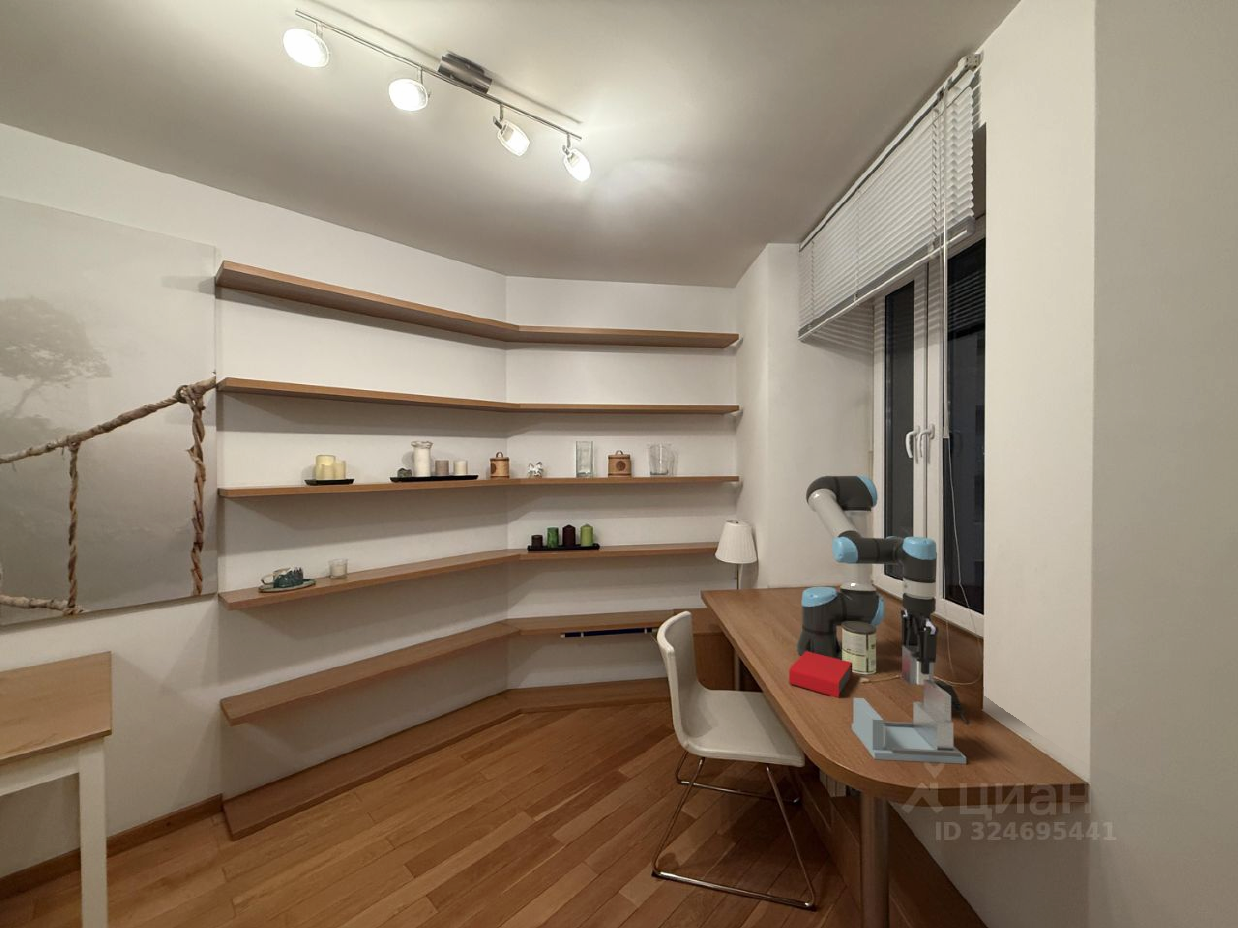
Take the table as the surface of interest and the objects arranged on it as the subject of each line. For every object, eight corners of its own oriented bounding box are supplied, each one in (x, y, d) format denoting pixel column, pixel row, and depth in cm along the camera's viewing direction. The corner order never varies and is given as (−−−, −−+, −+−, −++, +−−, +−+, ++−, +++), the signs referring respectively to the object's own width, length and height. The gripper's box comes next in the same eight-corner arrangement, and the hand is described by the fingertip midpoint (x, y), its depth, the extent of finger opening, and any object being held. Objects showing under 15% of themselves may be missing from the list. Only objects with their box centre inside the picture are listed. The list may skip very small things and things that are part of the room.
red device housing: (806, 665, 154) (806, 650, 154) (852, 677, 145) (852, 661, 145) (789, 684, 140) (789, 668, 140) (838, 699, 131) (838, 682, 131)
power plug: (958, 722, 118) (931, 676, 127) (944, 734, 122) (920, 689, 132) (979, 721, 118) (951, 676, 127) (964, 734, 122) (938, 689, 132)
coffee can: (842, 658, 158) (842, 618, 159) (876, 665, 153) (876, 623, 153) (840, 670, 150) (840, 627, 150) (876, 677, 144) (876, 633, 144)
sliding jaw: (913, 727, 114) (913, 677, 114) (927, 727, 113) (927, 678, 113) (937, 751, 104) (937, 696, 104) (953, 751, 104) (953, 697, 104)
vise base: (851, 728, 116) (851, 695, 116) (933, 732, 114) (933, 699, 114) (874, 758, 104) (874, 722, 104) (966, 763, 102) (966, 726, 102)
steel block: (901, 677, 125) (902, 645, 125) (924, 677, 125) (925, 645, 125) (910, 684, 121) (910, 651, 121) (933, 685, 121) (934, 652, 121)
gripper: (888, 585, 131) (886, 664, 132) (923, 605, 114) (921, 696, 115) (915, 585, 131) (913, 665, 131) (954, 605, 114) (952, 697, 114)
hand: (917, 679), depth 123 cm, fingers closed on steel block, 4 cm apart
